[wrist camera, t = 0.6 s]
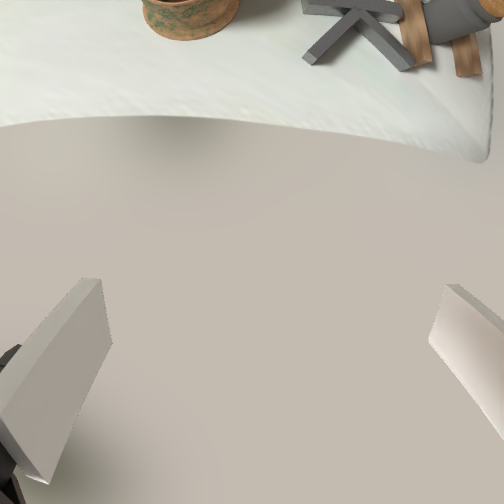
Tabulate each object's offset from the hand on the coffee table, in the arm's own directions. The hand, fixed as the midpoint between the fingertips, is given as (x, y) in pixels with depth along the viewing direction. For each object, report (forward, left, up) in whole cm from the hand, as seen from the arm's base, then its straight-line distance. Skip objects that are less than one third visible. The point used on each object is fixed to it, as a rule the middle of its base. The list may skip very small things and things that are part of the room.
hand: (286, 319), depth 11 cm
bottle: (-23, +26, -27) cm, 44 cm away
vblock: (-19, +14, -27) cm, 36 cm away
